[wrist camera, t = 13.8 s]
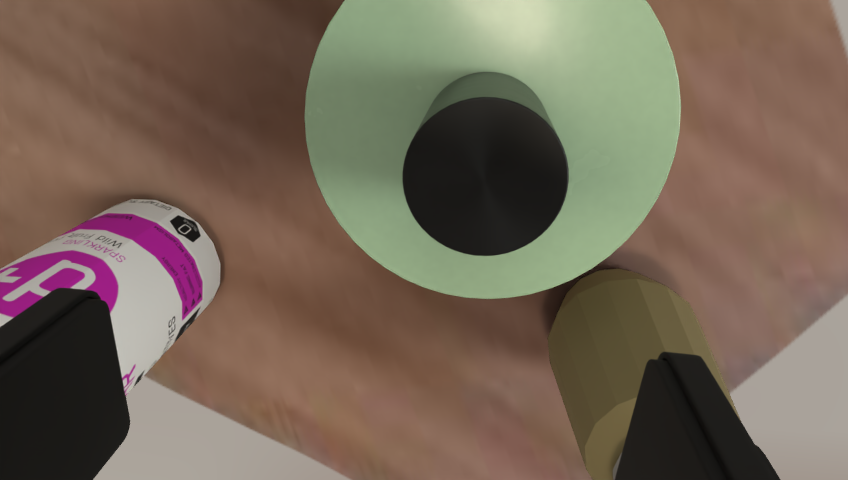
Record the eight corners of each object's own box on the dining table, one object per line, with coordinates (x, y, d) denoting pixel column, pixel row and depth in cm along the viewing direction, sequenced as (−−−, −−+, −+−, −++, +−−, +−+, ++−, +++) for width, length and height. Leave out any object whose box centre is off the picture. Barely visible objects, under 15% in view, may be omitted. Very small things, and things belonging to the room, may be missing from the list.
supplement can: (107, 175, 34) (-150, 296, 20) (238, 223, 34) (71, 374, 21) (94, 285, 37) (-135, 454, 24) (213, 328, 38) (55, 518, 24)
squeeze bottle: (550, 244, 33) (610, 495, 16) (694, 254, 32) (909, 527, 16) (534, 360, 36) (572, 666, 20) (665, 371, 35) (818, 700, 19)
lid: (312, 267, 25) (255, 353, 19) (312, -87, 19) (232, -124, 13) (626, 305, 24) (671, 408, 18) (718, -55, 18) (829, -79, 12)
